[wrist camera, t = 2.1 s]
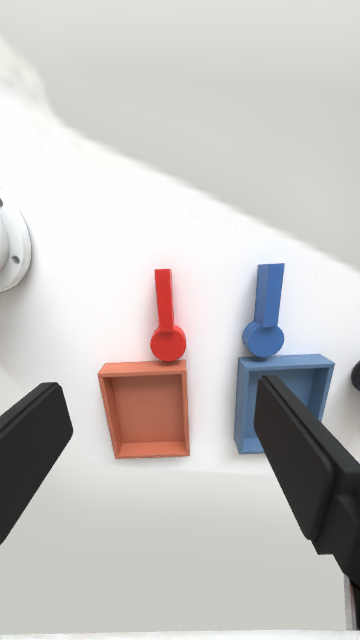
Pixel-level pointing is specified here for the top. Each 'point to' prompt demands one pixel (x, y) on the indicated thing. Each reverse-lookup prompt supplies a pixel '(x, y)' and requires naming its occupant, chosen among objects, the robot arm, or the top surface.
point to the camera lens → (356, 376)
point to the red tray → (146, 408)
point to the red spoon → (166, 321)
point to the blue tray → (298, 375)
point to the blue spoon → (266, 313)
